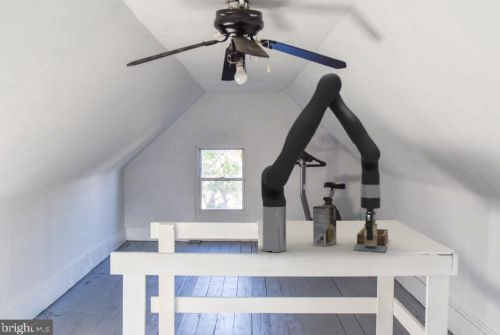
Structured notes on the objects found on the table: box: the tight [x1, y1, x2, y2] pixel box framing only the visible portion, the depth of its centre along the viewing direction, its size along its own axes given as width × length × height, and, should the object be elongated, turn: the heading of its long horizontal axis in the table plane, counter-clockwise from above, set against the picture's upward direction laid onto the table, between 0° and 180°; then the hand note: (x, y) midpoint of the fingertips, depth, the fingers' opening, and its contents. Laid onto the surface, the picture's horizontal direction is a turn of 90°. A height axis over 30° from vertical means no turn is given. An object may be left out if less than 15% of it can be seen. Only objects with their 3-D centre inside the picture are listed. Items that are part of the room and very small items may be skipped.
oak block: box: [363, 223, 378, 246], centre depth 170 cm, size 4×4×8 cm
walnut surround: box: [356, 227, 389, 246], centre depth 185 cm, size 18×11×4 cm, turn 159°
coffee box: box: [312, 204, 337, 247], centre depth 181 cm, size 9×6×16 cm
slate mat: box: [352, 243, 388, 254], centre depth 170 cm, size 11×12×1 cm
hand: (370, 238), depth 170 cm, fingers closed on oak block, 4 cm apart
